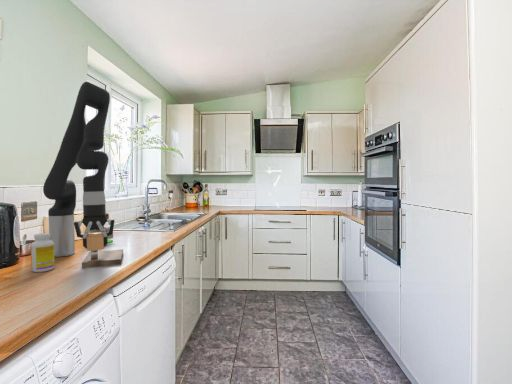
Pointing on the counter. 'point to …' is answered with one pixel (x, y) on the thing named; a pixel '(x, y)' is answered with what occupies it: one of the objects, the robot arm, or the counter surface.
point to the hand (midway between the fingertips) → (95, 246)
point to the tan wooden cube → (95, 241)
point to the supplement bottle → (42, 253)
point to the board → (104, 259)
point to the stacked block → (105, 229)
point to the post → (94, 254)
